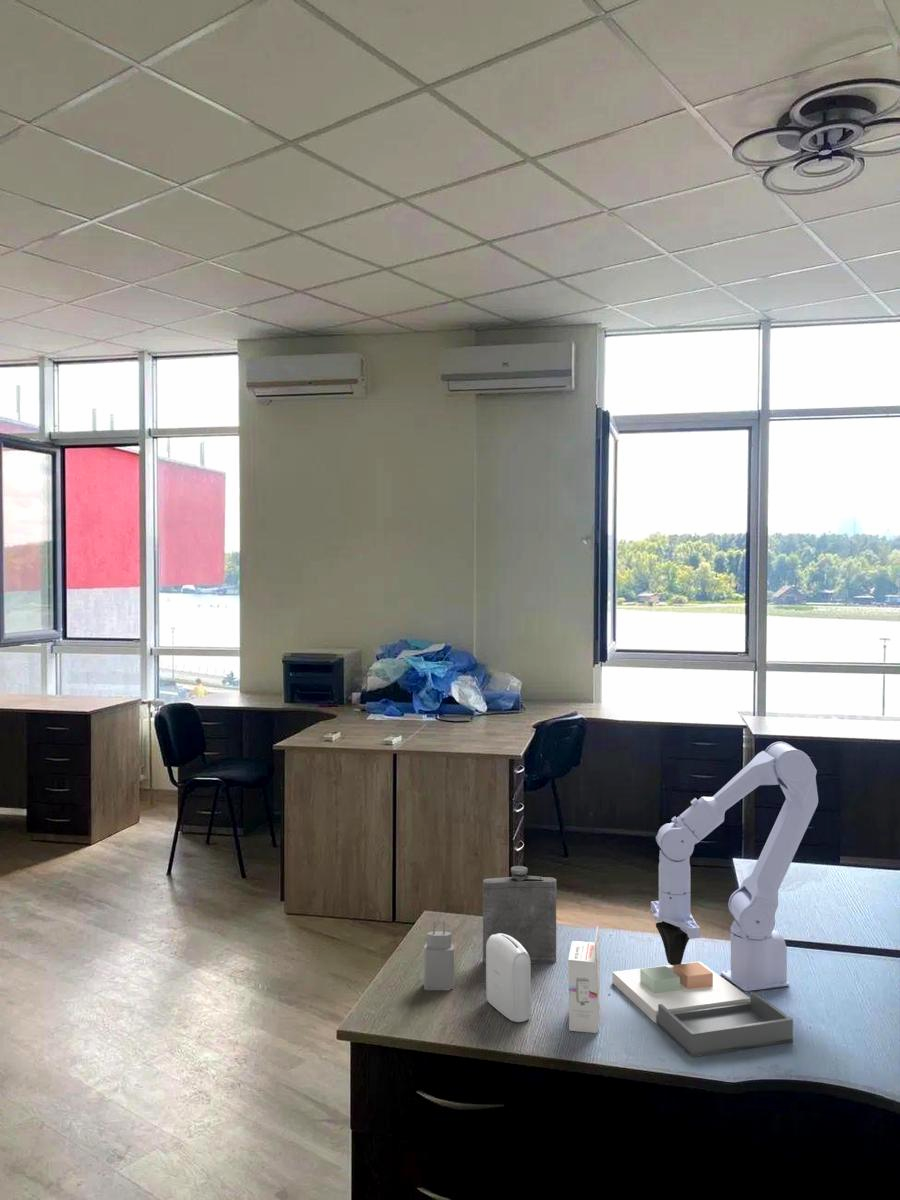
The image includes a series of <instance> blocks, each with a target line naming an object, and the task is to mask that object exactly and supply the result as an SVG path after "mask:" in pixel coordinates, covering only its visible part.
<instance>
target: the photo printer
mask: <svg viewBox="0 0 900 1200" xmlns="http://www.w3.org/2000/svg"><path fill="white" fill-rule="evenodd" d="M531 964H532V963H530V957H529V955H528V953H527V951H526V950H525V948H524V947H523V946H522V945H521V944H520V943H519V942H518V941H517V940H515V939H514V938H512V937H511V936H509V935H506V934H502V933H499V934H494V935H491V936H490V937H489V939H488V941H487V944H486V964H485V982H486V983H485V988H486V989H485V991H486V992H485V993H486V994H485V995H486V1001H487V1002H488V1003H489V1004H490V1005H491V1006H492V1007H493V1008H494V1009H496V1010H497V1011H498V1012H499V1013H501V1015H503V1016H504V1017H505V1018H507V1019H508V1020H510V1021H511V1022H514V1023H522V1022H526V1021H528V1020H529V1018H530V1017H531V1014H532V1002H531V999H532V997H531V996H532V995H531V994H532V993H531V992H532V990H531V986H532V985H531V982H532V981H531V977H532V976H531V969H532V967H531Z"/></svg>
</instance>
